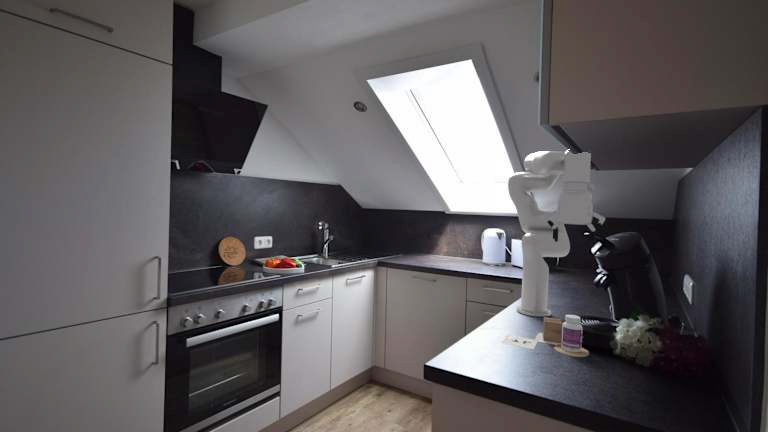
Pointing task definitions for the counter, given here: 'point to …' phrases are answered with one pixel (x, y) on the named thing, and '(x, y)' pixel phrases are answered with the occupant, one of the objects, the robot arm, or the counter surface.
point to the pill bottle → (572, 334)
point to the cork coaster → (578, 354)
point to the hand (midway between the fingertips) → (572, 242)
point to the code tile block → (540, 339)
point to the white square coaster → (520, 342)
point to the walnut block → (552, 330)
